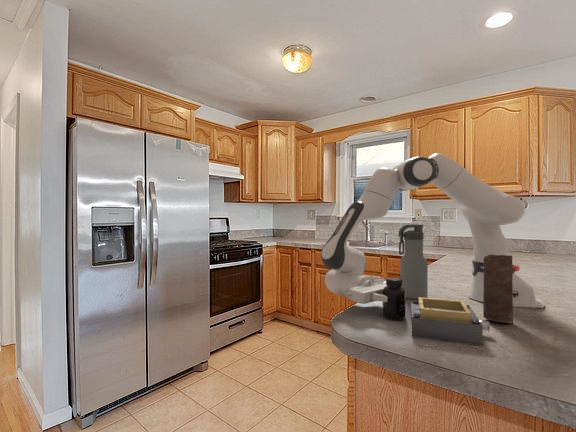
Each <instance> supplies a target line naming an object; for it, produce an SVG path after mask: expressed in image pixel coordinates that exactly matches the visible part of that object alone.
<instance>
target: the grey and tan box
mask: <svg viewBox="0 0 576 432" xmlns="http://www.w3.org/2000/svg"><path fill="white" fill-rule="evenodd" d="M410 302H411V303H410V309H411V310H410V312H411V313H410V318H411V319H410V320H411V325H410V326H411V337H414V338H420V339H430V340H437V341H444V342H451V343H458V344H459V343H460V344H466V345H473V346H481V347H482V346H483V331H490V330H491V325H490V320H481V319H479V318H478V317H477V315H476V314H475V312H474V311H473V310H474V309H472V307H471V306H470V305H468V304H466V303H465V301H464V300H453V299H445V298H444V299H443V298H433V297H432V298H431V297H427V298H422V297H418V300H414V299H412V301H410Z"/></svg>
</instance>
